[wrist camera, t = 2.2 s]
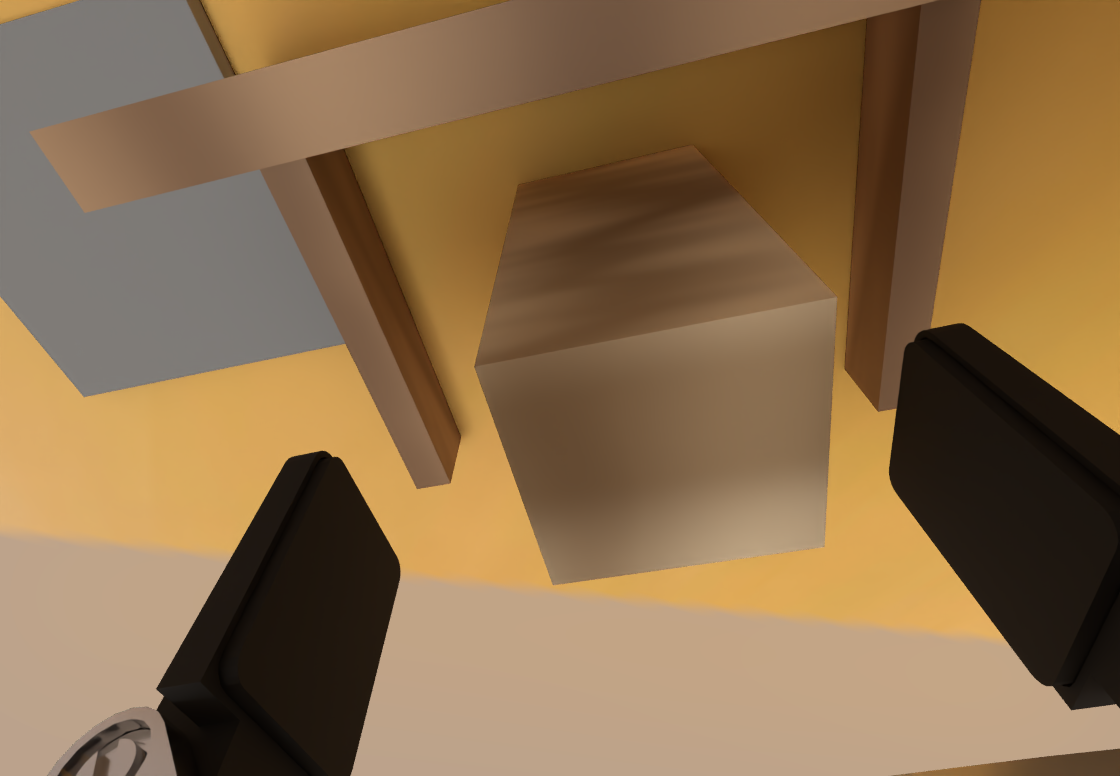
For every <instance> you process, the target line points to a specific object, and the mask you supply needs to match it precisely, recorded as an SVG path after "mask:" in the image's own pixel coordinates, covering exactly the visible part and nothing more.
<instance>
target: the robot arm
mask: <svg viewBox="0 0 1120 776" xmlns="http://www.w3.org/2000/svg"><path fill="white" fill-rule="evenodd" d="M889 476H890V481H891V484H892V486H893V488H894V490H895V492H896V493H897V495H898V496H899V497H900V499H901V500H902V501H903V503H904V504H905V506H906V507H907V508H908V510H909V511H910V512H911V514H912V515H913V516H914V518H915V519H916V520H917V522H918V523H919V524H920V526H921V527H922V528H923V530H924V531H925V532H926V534H927V535H928V536H929V538H930V539H931V540H932V542H933V543H934V544H935V546H936V547H937V548H938V550H939V551H940V552H941V554H942V555H943V556H944V558H945V559H946V560H947V562H948V563H949V564H950V566H951V567H952V569H953V570H954V571H955V573H956V574H957V575H958V577H959V578H960V579H961V581H962V582H963V583H964V585H965V586H966V587H967V589H968V590H969V591H970V593H971V594H972V595H973V597H974V598H975V599H976V601H977V602H978V603H979V605H980V606H981V607H982V609H983V610H984V611H985V613H986V614H987V615H988V617H989V618H990V619H991V621H992V622H993V623H994V625H995V626H996V627H997V629H998V630H999V631H1000V633H1001V634H1002V636H1003V637H1004V638H1005V640H1006V641H1007V642H1008V644H1009V645H1010V646H1011V648H1012V649H1013V650H1014V652H1015V653H1016V654H1017V656H1018V657H1019V658H1020V660H1021V661H1022V662H1023V664H1024V665H1025V666H1026V668H1027V669H1028V670H1029V672H1030V673H1031V674H1032V675H1033V676H1034V678H1035V679H1036V680H1038V681H1039V682H1040V683H1041V684H1043V685H1045V686H1053V687H1054V688H1055V690H1056V691H1057V692H1058V693H1059V695H1060V696H1061V697H1062V699H1063V700H1064V701H1065V703H1066V704H1067V705H1068V706H1069V708H1070V709H1071V710H1076V709H1083V708H1091V707H1098V706H1106V705H1113V704H1117V706H1118V707H1119V708H1120V435H1119V434H1118V433H1116V432H1115V431H1113V430H1112V429H1111V428H1109V427H1108V426H1106V425H1105V424H1104V423H1102V422H1101V421H1100V420H1098V419H1097V418H1095V417H1094V416H1093V415H1091V414H1090V413H1089V412H1087V411H1086V410H1084V409H1083V408H1082V407H1080V406H1079V405H1077V404H1076V403H1075V402H1073V401H1072V400H1071V399H1069V398H1068V397H1066V396H1065V395H1064V394H1062V393H1061V392H1059V391H1058V390H1057V389H1055V388H1054V387H1053V386H1051V385H1050V384H1048V383H1047V382H1046V381H1044V380H1043V379H1041V378H1040V377H1039V376H1037V375H1036V374H1035V373H1033V372H1032V371H1030V370H1029V369H1028V368H1026V367H1025V366H1024V365H1022V364H1021V363H1019V362H1018V361H1017V360H1015V359H1014V358H1012V357H1011V356H1010V355H1008V354H1007V353H1006V352H1004V351H1003V350H1001V349H1000V348H999V347H997V346H996V345H994V344H993V343H992V342H990V341H989V340H988V339H986V338H985V337H983V336H982V335H981V334H979V333H978V332H977V331H975V330H974V329H972V328H971V327H970V326H968V325H966V324H964V323H958V324H953V325H948V326H943V327H938V328H933V329H928V330H923V331H921V332H919V333H918V334H917V335H916V337H915V340H914V342H910V343H908V344H907V345H906V347H905V350H904V355H903V363H902V371H901V379H900V386H899V394H898V402H897V410H896V418H895V426H894V434H893V442H892V450H891V458H890V466H889ZM399 581H400V564H399V560H398V558H397V556H396V554H395V552H394V551H393V549H392V547H391V545H390V544H389V542H388V540H387V538H386V537H385V535H384V533H383V531H382V530H381V528H380V526H379V524H378V523H377V521H376V519H375V517H374V516H373V514H372V512H371V510H370V508H369V507H368V505H367V503H366V501H365V500H364V498H363V496H362V494H361V493H360V491H359V489H358V487H357V486H356V484H355V482H354V480H353V479H352V477H351V475H350V473H349V472H348V470H347V468H346V466H345V464H344V463H343V461H342V460H341V459H340V458H338V457H332V456H331V455H330V454H329V453H328V452H326V451H319V452H314V453H309V454H304V455H299V456H294V457H291V458H289V459H288V460H287V461H286V462H285V464H284V466H283V468H282V469H281V471H280V473H279V475H278V476H277V478H276V480H275V482H274V483H273V485H272V487H271V489H270V490H269V492H268V494H267V496H266V497H265V499H264V501H263V503H262V504H261V506H260V508H259V510H258V511H257V513H256V515H255V517H254V518H253V520H252V522H251V524H250V526H249V527H248V529H247V531H246V533H245V534H244V536H243V538H242V540H241V541H240V543H239V545H238V547H237V548H236V550H235V552H234V554H233V555H232V557H231V559H230V561H229V562H228V564H227V566H226V568H225V570H224V571H223V573H222V575H221V576H220V578H219V580H218V582H217V583H216V585H215V587H214V589H213V590H212V592H211V594H210V596H209V597H208V599H207V601H206V603H205V604H204V606H203V608H202V610H201V612H200V613H199V615H198V617H197V618H196V620H195V622H194V624H193V626H192V627H191V629H190V631H189V632H188V634H187V636H186V638H185V639H184V641H183V643H182V645H181V646H180V648H179V650H178V652H177V653H176V655H175V657H174V659H173V661H172V662H171V664H170V666H169V667H168V669H167V671H166V673H165V674H164V676H163V678H162V680H161V682H160V683H159V685H158V687H157V688H156V689H157V690H158V691H159V692H160V693H161V694H162V695H163V696H164V697H163V700H162V701H161V703H160V705H159V706H158V709H157V710H154V709H152V708H149V707H136V708H130V709H128V710H125V711H122V712H119V713H117V714H114V715H113V716H111V717H109V718H107V719H106V720H104V721H102V722H101V723H99V724H98V725H96V726H94V727H93V728H92V729H91V730H89V731H88V732H87V733H86V734H85V735H83V736H82V737H81V738H80V739H78V740H77V741H76V742H75V743H74V744H73V745H72V746H71V747H70V748H69V749H68V750H67V752H66V753H65V754H64V755H63V756H62V757H61V758H60V759H59V760H58V761H57V762H56V764H55V766H54V767H53V768H52V770H51V771H50V772H49V774H48V775H47V776H350V775H351V772H352V769H353V765H354V761H355V757H356V753H357V749H358V745H359V741H360V737H361V733H362V729H363V725H364V721H365V717H366V713H367V709H368V705H369V701H370V697H371V693H372V689H373V685H374V681H375V676H376V673H377V669H378V665H379V661H380V657H381V653H382V649H383V644H384V641H385V637H386V632H387V629H388V625H389V621H390V617H391V613H392V609H393V605H394V601H395V597H396V592H397V589H398V585H399ZM894 776H1120V749H1113V750H1104V751H1094V752H1085V753H1075V754H1066V755H1056V756H1047V757H1039V758H1031V759H1022V760H1014V761H1007V762H999V763H990V764H982V765H975V766H966V767H958V768H950V769H942V770H934V771H926V772H918V773H910V774H901V775H894Z"/></svg>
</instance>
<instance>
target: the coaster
mask: <svg viewBox="0 0 1120 776" xmlns="http://www.w3.org/2000/svg"><path fill="white" fill-rule="evenodd" d="M232 76H235V74H234V72H233V70H232V68H231V66H230V64H229V62H228V60H227V58H226V55H225V53H224V51H223V49H222V47H221V45H220V43H219V41H218V39H217V36H216V34H215V32H214V30H213V28H212V26H211V24H210V22H209V20H208V17H207V15H206V13H205V11H204V9H203V7H202V5H201V3H200V1H199V0H79V1H76V2H73V3H69V4H66V5H63V6H60V7H56V8H53V9H50V10H46V11H43V12H40V13H36V14H33V15H30V16H26V17H23V18H20V19H16V20H13V21H10V22H6V23H3V24H0V297H1V298H2V299H3V300H4V301H5V303H6V304H7V305H8V306H9V307H10V309H11V310H12V311H13V312H14V313H15V315H16V316H17V317H18V318H19V319H20V321H21V322H22V323H23V324H24V325H25V327H26V328H27V329H28V330H29V331H30V333H31V334H32V335H33V336H34V337H35V339H36V340H37V341H38V342H39V343H40V345H41V346H42V347H43V348H44V349H45V351H46V352H47V353H48V354H49V355H50V357H51V358H52V359H53V360H54V361H55V363H56V364H57V365H58V366H59V367H60V369H61V370H62V371H63V372H64V373H65V375H66V376H67V377H68V378H69V379H70V381H71V382H72V383H73V384H74V385H75V387H76V388H77V389H78V390H79V391H80V393H81V394H82V395H83V396H84V397H86V396H91V395H96V394H101V393H106V392H111V391H116V390H121V389H126V388H131V387H135V386H140V385H145V384H150V383H155V382H160V381H165V380H170V379H175V378H179V377H184V376H189V375H194V374H199V373H204V372H209V371H214V370H219V369H224V368H228V367H233V366H238V365H243V364H248V363H253V362H258V361H263V360H268V359H273V358H277V357H282V356H287V355H292V354H297V353H302V352H307V351H312V350H317V349H322V348H326V347H331V346H336V345H341V344H345V342H344V340H343V338H342V336H341V334H340V332H339V330H338V328H337V326H336V323H335V321H334V319H333V317H332V315H331V313H330V311H329V309H328V307H327V305H326V303H325V301H324V299H323V297H322V295H321V293H320V291H319V289H318V287H317V285H316V283H315V281H314V279H313V277H312V275H311V273H310V271H309V269H308V267H307V265H306V263H305V261H304V259H303V257H302V255H301V253H300V251H299V248H298V246H297V244H296V242H295V240H294V238H293V236H292V234H291V232H290V230H289V228H288V226H287V224H286V222H285V220H284V218H283V216H282V214H281V212H280V210H279V208H278V206H277V204H276V202H275V200H274V198H273V196H272V194H271V192H270V190H269V188H268V186H267V184H266V182H265V180H264V178H263V176H262V174H261V171H260V169H259V170H255V171H251V172H247V173H243V174H239V175H235V176H231V177H227V178H223V179H219V180H215V181H211V182H207V183H203V184H199V185H195V186H191V187H187V188H183V189H179V190H175V191H171V192H167V193H163V194H159V195H155V196H151V197H147V198H143V199H139V200H135V201H131V202H127V203H123V204H119V205H115V206H111V207H107V208H103V209H99V210H95V211H91V212H87V213H84V211H83V210H82V208H81V207H80V205H79V204H78V203H77V201H76V200H75V198H74V197H73V195H72V194H71V192H70V191H69V189H68V188H67V186H66V185H65V184H64V182H63V181H62V179H61V178H60V176H59V175H58V173H57V172H56V170H55V169H54V167H53V166H52V165H51V163H50V162H49V160H48V159H47V157H46V156H45V154H44V153H43V151H42V150H41V148H40V147H39V145H38V144H37V143H36V141H35V140H34V138H33V137H32V135H31V134H30V131H34V130H37V129H41V128H45V127H48V126H52V125H56V124H59V123H63V122H67V121H70V120H74V119H78V118H81V117H85V116H89V115H92V114H96V113H100V112H103V111H107V110H111V109H114V108H118V107H122V106H125V105H129V104H133V103H136V102H140V101H144V100H147V99H151V98H155V97H158V96H162V95H166V94H169V93H173V92H177V91H180V90H184V89H188V88H191V87H195V86H199V85H202V84H206V83H210V82H213V81H217V80H221V79H224V78H228V77H232Z"/></svg>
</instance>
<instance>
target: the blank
mask: <svg viewBox="0 0 1120 776" xmlns="http://www.w3.org/2000/svg"><path fill="white" fill-rule="evenodd" d="M836 310H837V296H836V295H835V294H834V293H833V292H832V291H831V290H830V289H829V288H828V287H827V286H826V285H825V284H824V283H823V281H822V280H821V279H820V278H819V277H818V276H817V275H816V274H815V273H814V272H813V271H812V270H811V269H810V268H809V267H808V266H807V265H806V264H805V263H804V261H803V260H802V259H801V258H800V257H799V256H798V255H797V254H796V253H795V252H794V251H793V250H792V249H791V248H790V247H789V246H788V245H787V244H786V243H785V241H784V240H783V239H782V238H781V237H780V236H779V235H778V234H777V233H776V232H775V231H774V230H773V229H772V228H771V227H770V226H769V225H768V224H767V222H766V221H765V220H764V219H763V218H762V217H761V216H760V215H759V214H758V213H757V212H756V211H755V210H754V209H753V208H752V207H751V206H750V205H749V204H748V202H747V201H746V200H745V199H744V198H743V197H742V196H741V195H740V194H739V193H738V192H737V191H736V190H735V189H734V188H733V187H732V186H731V185H730V184H729V182H728V181H727V180H726V179H725V178H724V177H723V176H722V175H721V174H720V173H719V172H718V171H717V170H716V169H715V168H714V167H713V166H712V165H711V164H710V162H709V161H708V160H707V159H706V158H705V157H704V156H703V155H702V154H701V153H700V152H699V151H698V150H697V149H696V148H695V147H694V146H693V145H688V146H684V147H680V148H675V149H671V150H667V151H662V152H658V153H654V154H649V155H645V156H641V157H636V158H632V159H628V160H623V161H619V162H615V163H610V164H606V165H602V166H597V167H593V168H589V169H584V170H580V171H576V172H571V173H567V174H563V175H558V176H554V177H550V178H545V179H541V180H537V181H532V182H528V183H524V184H519V185H518V188H517V192H516V197H515V201H514V205H513V209H512V213H511V217H510V221H509V226H508V230H507V234H506V238H505V242H504V246H503V250H502V255H501V259H500V263H499V267H498V271H497V275H496V279H495V284H494V288H493V292H492V296H491V300H490V304H489V308H488V312H487V317H486V321H485V325H484V329H483V333H482V337H481V341H480V346H479V350H478V354H477V358H476V362H475V366H474V367H475V370H476V373H477V375H478V378H479V381H480V384H481V387H482V389H483V392H484V395H485V398H486V400H487V403H488V406H489V409H490V412H491V414H492V417H493V420H494V423H495V425H496V428H497V431H498V434H499V437H500V439H501V442H502V445H503V448H504V450H505V453H506V456H507V459H508V462H509V464H510V467H511V470H512V473H513V476H514V478H515V481H516V484H517V487H518V489H519V492H520V495H521V498H522V501H523V503H524V506H525V509H526V512H527V514H528V517H529V520H530V523H531V526H532V528H533V531H534V534H535V537H536V539H537V542H538V545H539V548H540V551H541V553H542V556H543V559H544V562H545V564H546V567H547V570H548V573H549V576H550V578H551V581H552V584H553V585H558V584H566V583H573V582H580V581H587V580H594V579H601V578H608V577H615V576H622V575H629V574H637V573H644V572H651V571H658V570H665V569H672V568H679V567H686V566H693V565H700V564H707V563H715V562H722V561H729V560H736V559H743V558H750V557H757V556H764V555H771V554H778V553H786V552H793V551H800V550H807V549H814V548H821V547H824V544H825V525H826V505H827V486H828V466H829V447H830V427H831V408H832V388H833V369H834V349H835V330H836Z"/></svg>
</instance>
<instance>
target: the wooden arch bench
mask: <svg viewBox="0 0 1120 776" xmlns="http://www.w3.org/2000/svg"><path fill="white" fill-rule="evenodd" d="M980 3H981V0H510V1H507V2H503V3H499V4H496V5H492V6H488V7H485V8H481V9H477V10H474V11H470V12H466V13H463V14H459V15H455V16H452V17H448V18H444V19H441V20H437V21H433V22H430V23H426V24H422V25H419V26H415V27H411V28H408V29H404V30H400V31H397V32H393V33H389V34H386V35H382V36H378V37H375V38H371V39H367V40H364V41H360V42H356V43H353V44H349V45H345V46H342V47H338V48H334V49H331V50H327V51H323V52H320V53H316V54H312V55H309V56H305V57H301V58H298V59H294V60H290V61H287V62H283V63H279V64H276V65H272V66H268V67H265V68H261V69H257V70H254V71H250V72H246V73H243V74H239V75H235V76H232V77H228V78H224V79H221V80H217V81H213V82H210V83H206V84H202V85H199V86H195V87H191V88H188V89H184V90H180V91H177V92H173V93H169V94H166V95H162V96H158V97H155V98H151V99H147V100H144V101H140V102H136V103H133V104H129V105H125V106H122V107H118V108H114V109H111V110H107V111H103V112H100V113H96V114H92V115H89V116H85V117H81V118H78V119H74V120H70V121H67V122H63V123H59V124H56V125H52V126H48V127H45V128H41V129H37V130H34V131H30V134H31V135H32V137H33V138H34V140H35V141H36V143H37V144H38V145H39V147H40V148H41V150H42V151H43V153H44V154H45V156H46V157H47V159H48V160H49V162H50V163H51V165H52V166H53V167H54V169H55V170H56V172H57V173H58V175H59V176H60V178H61V179H62V181H63V182H64V184H65V185H66V186H67V188H68V189H69V191H70V192H71V194H72V195H73V197H74V198H75V200H76V201H77V203H78V204H79V205H80V207H81V208H82V210H83V211H84V213H87V212H91V211H95V210H99V209H103V208H107V207H111V206H115V205H119V204H123V203H127V202H131V201H135V200H139V199H143V198H147V197H151V196H155V195H159V194H163V193H167V192H171V191H175V190H179V189H183V188H187V187H191V186H195V185H199V184H203V183H207V182H211V181H215V180H219V179H223V178H227V177H231V176H235V175H239V174H243V173H247V172H251V171H255V170H259V169H260V171H261V174H262V176H263V178H264V180H265V182H266V184H267V186H268V188H269V190H270V192H271V194H272V196H273V198H274V200H275V202H276V204H277V206H278V208H279V210H280V212H281V214H282V216H283V218H284V220H285V222H286V224H287V226H288V228H289V230H290V232H291V234H292V236H293V238H294V240H295V242H296V244H297V246H298V248H299V251H300V253H301V255H302V257H303V259H304V261H305V263H306V265H307V267H308V269H309V271H310V273H311V275H312V277H313V279H314V281H315V283H316V285H317V287H318V289H319V291H320V293H321V295H322V297H323V299H324V301H325V303H326V305H327V307H328V309H329V311H330V313H331V315H332V317H333V319H334V321H335V323H336V326H337V328H338V330H339V332H340V334H341V336H342V338H343V340H344V342H345V344H346V346H347V348H348V350H349V352H350V354H351V356H352V358H353V360H354V362H355V364H356V366H357V368H358V370H359V372H360V374H361V376H362V378H363V380H364V382H365V384H366V386H367V388H368V390H369V392H370V394H371V396H372V398H373V400H374V403H375V405H376V407H377V409H378V411H379V413H380V415H381V417H382V419H383V421H384V423H385V425H386V427H387V429H388V431H389V433H390V435H391V437H392V439H393V441H394V443H395V445H396V447H397V449H398V451H399V453H400V455H401V457H402V459H403V461H404V463H405V465H406V467H407V469H408V471H409V473H410V475H411V478H412V480H413V482H414V484H415V486H416V488H417V489H420V488H426V487H432V486H438V485H444V484H450V483H451V479H452V474H453V470H454V466H455V461H456V457H457V453H458V448H459V444H460V440H461V436H460V434H459V431H458V429H457V426H456V424H455V422H454V419H453V417H452V414H451V412H450V409H449V407H448V404H447V402H446V399H445V397H444V395H443V392H442V390H441V387H440V385H439V382H438V380H437V377H436V375H435V372H434V370H433V368H432V365H431V363H430V360H429V358H428V355H427V353H426V350H425V348H424V345H423V343H422V341H421V338H420V336H419V333H418V331H417V328H416V326H415V323H414V321H413V318H412V316H411V314H410V311H409V309H408V306H407V304H406V301H405V299H404V296H403V294H402V291H401V289H400V287H399V284H398V282H397V279H396V277H395V274H394V272H393V269H392V267H391V264H390V262H389V260H388V257H387V255H386V252H385V250H384V247H383V245H382V242H381V240H380V237H379V235H378V233H377V230H376V228H375V225H374V223H373V220H372V218H371V215H370V213H369V210H368V208H367V206H366V203H365V201H364V198H363V196H362V193H361V191H360V188H359V186H358V183H357V181H356V179H355V176H354V174H353V171H352V169H351V166H350V164H349V161H348V159H347V156H346V154H345V152H344V148H348V147H352V146H356V145H360V144H364V143H368V142H372V141H376V140H380V139H384V138H388V137H392V136H396V135H400V134H404V133H408V132H412V131H416V130H420V129H424V128H428V127H432V126H436V125H440V124H444V123H448V122H452V121H456V120H460V119H464V118H468V117H472V116H476V115H480V114H484V113H488V112H492V111H496V110H500V109H504V108H508V107H512V106H516V105H520V104H524V103H528V102H532V101H536V100H540V99H544V98H548V97H552V96H556V95H560V94H564V93H568V92H572V91H576V90H580V89H584V88H588V87H592V86H596V85H600V84H604V83H608V82H612V81H616V80H620V79H624V78H629V77H633V76H637V75H641V74H645V73H649V72H653V71H657V70H661V69H665V68H669V67H673V66H677V65H681V64H685V63H689V62H693V61H697V60H701V59H705V58H709V57H713V56H717V55H721V54H725V53H729V52H733V51H737V50H741V49H745V48H749V47H753V46H757V45H761V44H765V43H769V42H773V41H777V40H781V39H785V38H789V37H793V36H797V35H801V34H805V33H809V32H813V31H817V30H821V29H825V28H829V27H833V26H837V25H841V24H845V23H849V22H853V21H857V20H861V19H865V18H867V28H866V44H865V60H864V75H863V91H862V107H861V123H860V138H859V154H858V170H857V186H856V201H855V217H854V233H853V249H852V264H851V280H850V296H849V311H848V327H847V343H846V359H845V370H846V371H847V373H848V374H849V375H850V377H851V378H852V379H853V380H854V382H855V383H856V384H857V385H858V387H859V388H860V389H861V391H862V392H863V393H864V394H865V396H866V397H867V398H868V399H869V401H870V402H871V403H872V405H873V406H874V407H875V408H876V410H877V411H878V412H879V411H884V410H890V409H896V408H897V402H898V394H899V386H900V379H901V371H902V363H903V355H904V350H905V347H906V345H907V344H908V343H910V342H914V340H915V337H916V335H917V334H918V333H919V332H921V331H923V330H928V329H930V327H931V321H932V314H933V308H934V301H935V295H936V288H937V282H938V275H939V269H940V262H941V256H942V249H943V243H944V236H945V230H946V223H947V217H948V211H949V204H950V198H951V191H952V185H953V178H954V172H955V165H956V159H957V152H958V146H959V139H960V133H961V126H962V120H963V113H964V107H965V100H966V94H967V87H968V81H969V74H970V68H971V61H972V55H973V48H974V42H975V35H976V29H977V22H978V16H979V9H980Z"/></svg>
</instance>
